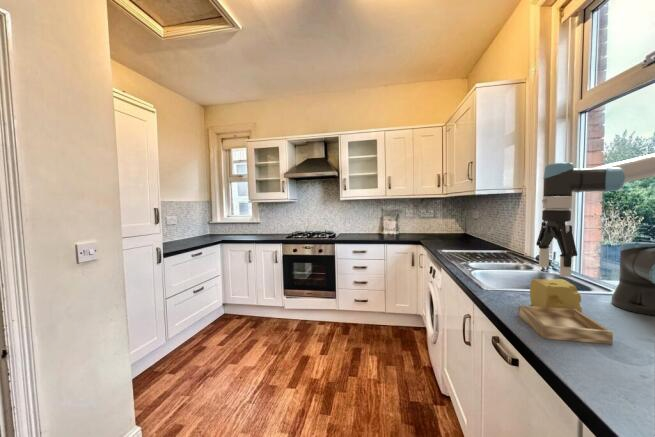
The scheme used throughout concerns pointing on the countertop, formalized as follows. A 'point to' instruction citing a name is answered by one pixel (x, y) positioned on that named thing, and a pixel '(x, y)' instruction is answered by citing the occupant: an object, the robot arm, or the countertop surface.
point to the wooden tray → (565, 324)
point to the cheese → (554, 294)
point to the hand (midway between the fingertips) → (553, 271)
